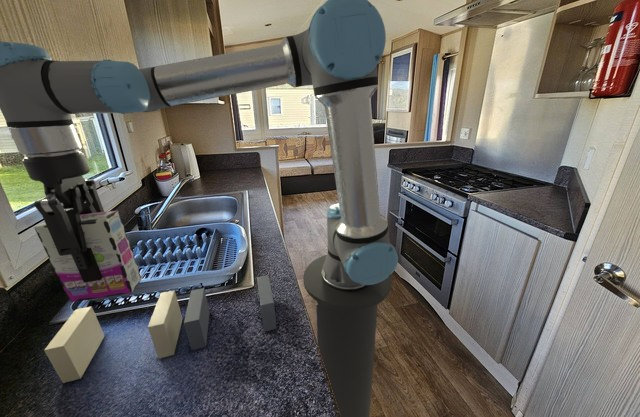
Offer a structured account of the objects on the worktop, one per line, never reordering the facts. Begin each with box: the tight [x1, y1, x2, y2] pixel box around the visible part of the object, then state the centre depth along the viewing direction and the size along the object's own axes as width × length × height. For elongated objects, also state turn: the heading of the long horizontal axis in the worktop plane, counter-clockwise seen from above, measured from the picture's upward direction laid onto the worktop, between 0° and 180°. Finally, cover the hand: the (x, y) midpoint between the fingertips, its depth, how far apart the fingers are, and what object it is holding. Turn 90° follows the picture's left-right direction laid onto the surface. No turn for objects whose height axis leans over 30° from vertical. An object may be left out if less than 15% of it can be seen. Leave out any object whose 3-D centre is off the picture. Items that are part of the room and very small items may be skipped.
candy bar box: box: [33, 210, 142, 303], centre depth 50 cm, size 11×5×16 cm, turn 102°
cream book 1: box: [43, 306, 106, 384], centre depth 55 cm, size 3×11×9 cm, turn 17°
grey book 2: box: [256, 274, 278, 332], centre depth 66 cm, size 3×11×8 cm, turn 17°
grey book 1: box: [183, 287, 211, 351], centre depth 62 cm, size 3×11×8 cm, turn 17°
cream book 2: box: [147, 289, 184, 359], centre depth 60 cm, size 3×11×9 cm, turn 17°
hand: (100, 271), depth 52 cm, fingers closed on candy bar box, 5 cm apart
